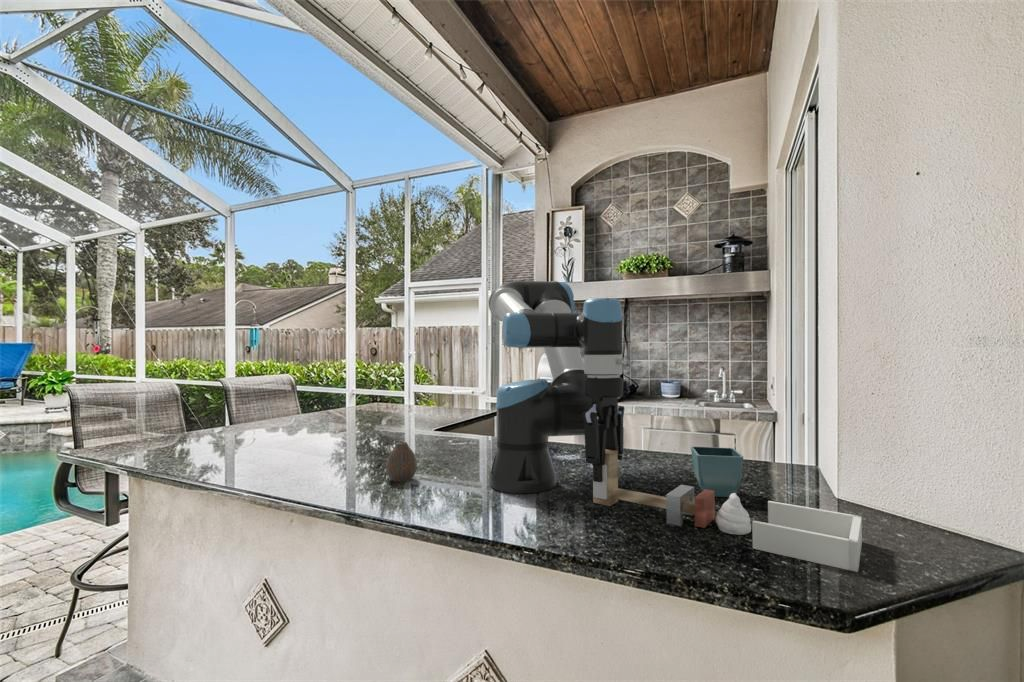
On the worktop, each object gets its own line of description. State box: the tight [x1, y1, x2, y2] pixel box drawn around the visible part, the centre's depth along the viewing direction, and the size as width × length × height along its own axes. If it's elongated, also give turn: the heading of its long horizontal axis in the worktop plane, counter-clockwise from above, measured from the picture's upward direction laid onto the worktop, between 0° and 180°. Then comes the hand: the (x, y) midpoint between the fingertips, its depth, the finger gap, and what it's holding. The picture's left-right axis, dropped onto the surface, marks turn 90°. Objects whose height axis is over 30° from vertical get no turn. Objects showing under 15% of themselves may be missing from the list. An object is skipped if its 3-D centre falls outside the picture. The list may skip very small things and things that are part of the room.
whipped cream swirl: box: [714, 492, 752, 536], centre depth 81 cm, size 6×6×5 cm
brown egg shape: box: [386, 441, 418, 483], centre depth 114 cm, size 7×7×9 cm
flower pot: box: [690, 446, 744, 498], centre depth 101 cm, size 9×9×9 cm
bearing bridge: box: [665, 484, 695, 527], centre depth 86 cm, size 2×8×5 cm, turn 142°
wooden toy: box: [592, 449, 716, 529], centre depth 90 cm, size 22×6×10 cm, turn 52°
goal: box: [751, 500, 863, 573], centre depth 74 cm, size 13×13×4 cm
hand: (605, 494), depth 95 cm, fingers closed on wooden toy, 4 cm apart
